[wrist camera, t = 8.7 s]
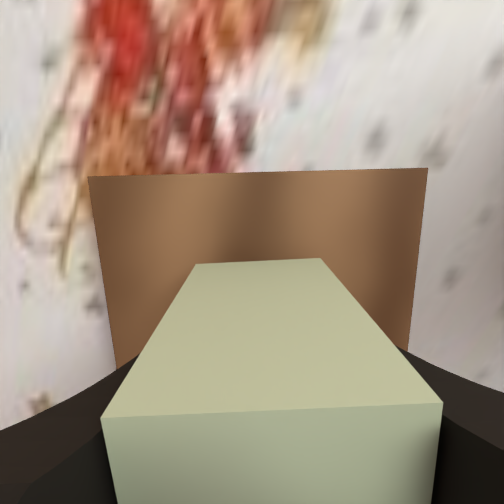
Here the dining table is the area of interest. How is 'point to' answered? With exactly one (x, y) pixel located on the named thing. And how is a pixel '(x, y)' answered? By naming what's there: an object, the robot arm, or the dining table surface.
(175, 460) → the sage block
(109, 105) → the dining table surface
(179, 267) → the walnut base
